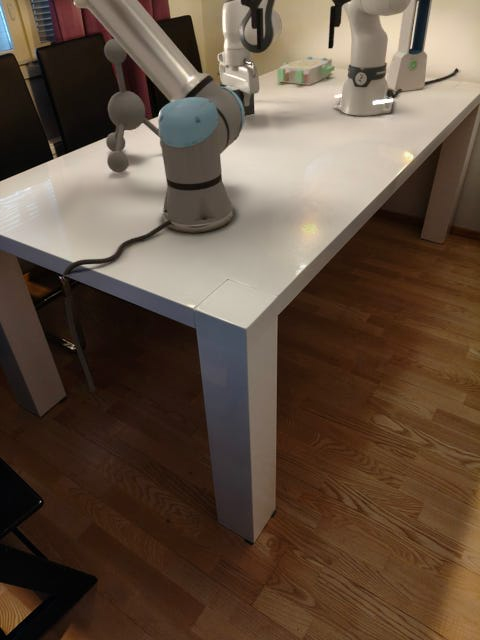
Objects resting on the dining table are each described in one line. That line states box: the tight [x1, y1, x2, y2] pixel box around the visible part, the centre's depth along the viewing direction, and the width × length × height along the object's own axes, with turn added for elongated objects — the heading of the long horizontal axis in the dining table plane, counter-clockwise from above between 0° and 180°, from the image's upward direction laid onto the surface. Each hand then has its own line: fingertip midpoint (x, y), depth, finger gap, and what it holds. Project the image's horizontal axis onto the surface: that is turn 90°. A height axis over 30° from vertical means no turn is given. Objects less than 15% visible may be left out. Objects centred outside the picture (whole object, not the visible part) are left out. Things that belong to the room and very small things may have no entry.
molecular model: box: [103, 38, 161, 174], centre depth 130 cm, size 24×22×30 cm
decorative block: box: [276, 56, 336, 86], centre depth 205 cm, size 26×6×20 cm
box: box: [225, 86, 256, 117], centre depth 160 cm, size 26×6×9 cm, turn 120°
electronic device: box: [386, 0, 433, 92], centre depth 177 cm, size 12×8×30 cm, turn 105°
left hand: (295, 48), depth 94 cm, fingers open, 13 cm apart
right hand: (240, 103), depth 164 cm, fingers closed on box, 6 cm apart
